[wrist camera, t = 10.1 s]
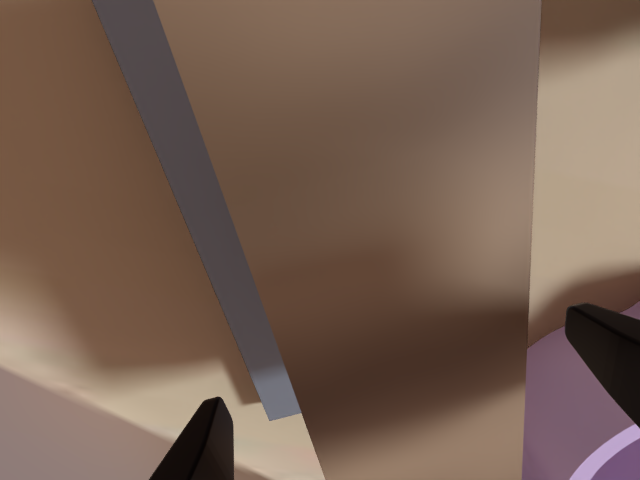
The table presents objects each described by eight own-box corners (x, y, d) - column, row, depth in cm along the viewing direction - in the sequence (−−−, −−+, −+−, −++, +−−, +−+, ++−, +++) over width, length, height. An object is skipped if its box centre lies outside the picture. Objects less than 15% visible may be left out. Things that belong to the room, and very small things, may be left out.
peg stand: (451, -119, 14) (583, -263, 8) (472, 349, 24) (536, 438, 18) (93, -31, 14) (-44, -111, 8) (269, 401, 24) (268, 507, 18)
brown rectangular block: (453, 419, 17) (518, 546, 12) (340, 448, 17) (364, 586, 12) (413, -49, 9) (549, -171, 5) (201, 3, 9) (128, -67, 5)
